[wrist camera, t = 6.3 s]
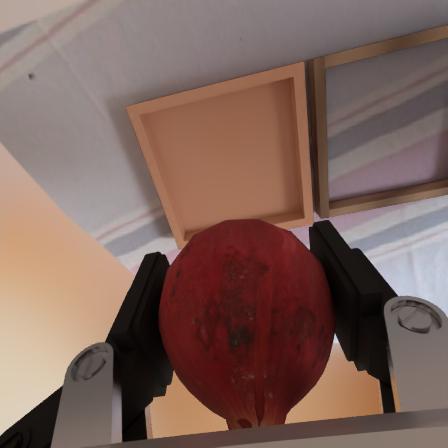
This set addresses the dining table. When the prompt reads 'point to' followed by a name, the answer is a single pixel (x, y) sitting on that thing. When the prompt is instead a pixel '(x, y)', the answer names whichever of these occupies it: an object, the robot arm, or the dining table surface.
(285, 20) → the dining table surface
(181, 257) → the onion
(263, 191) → the terracotta tray
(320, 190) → the walnut frame
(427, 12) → the dining table surface
